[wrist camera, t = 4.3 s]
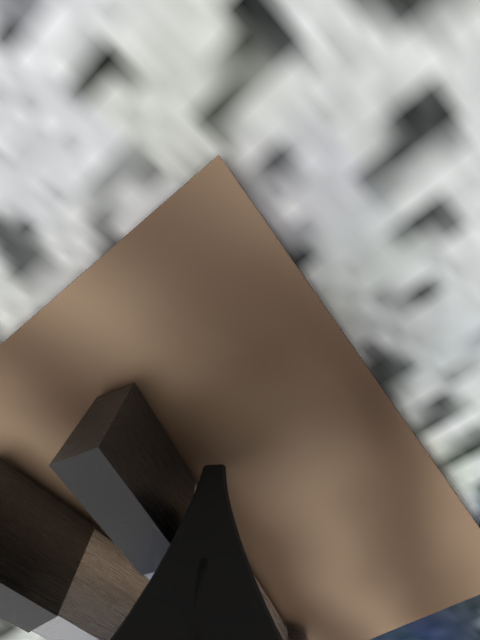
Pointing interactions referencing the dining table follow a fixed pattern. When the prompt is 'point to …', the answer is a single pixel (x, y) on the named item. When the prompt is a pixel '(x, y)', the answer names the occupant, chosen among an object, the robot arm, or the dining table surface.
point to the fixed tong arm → (59, 567)
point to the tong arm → (133, 480)
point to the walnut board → (249, 413)
